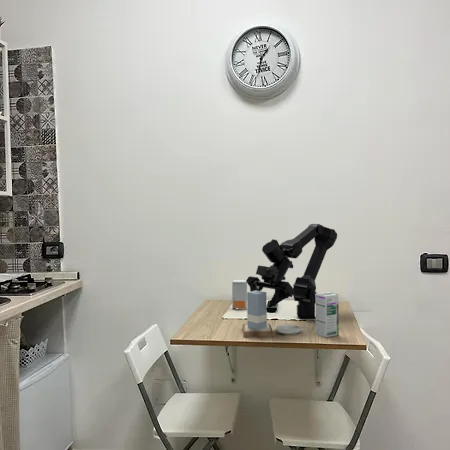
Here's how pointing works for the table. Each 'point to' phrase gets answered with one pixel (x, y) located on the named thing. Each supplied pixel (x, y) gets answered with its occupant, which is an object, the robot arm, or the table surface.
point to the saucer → (288, 329)
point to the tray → (257, 331)
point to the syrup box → (327, 314)
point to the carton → (256, 310)
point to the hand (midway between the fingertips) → (259, 305)
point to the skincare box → (239, 294)
